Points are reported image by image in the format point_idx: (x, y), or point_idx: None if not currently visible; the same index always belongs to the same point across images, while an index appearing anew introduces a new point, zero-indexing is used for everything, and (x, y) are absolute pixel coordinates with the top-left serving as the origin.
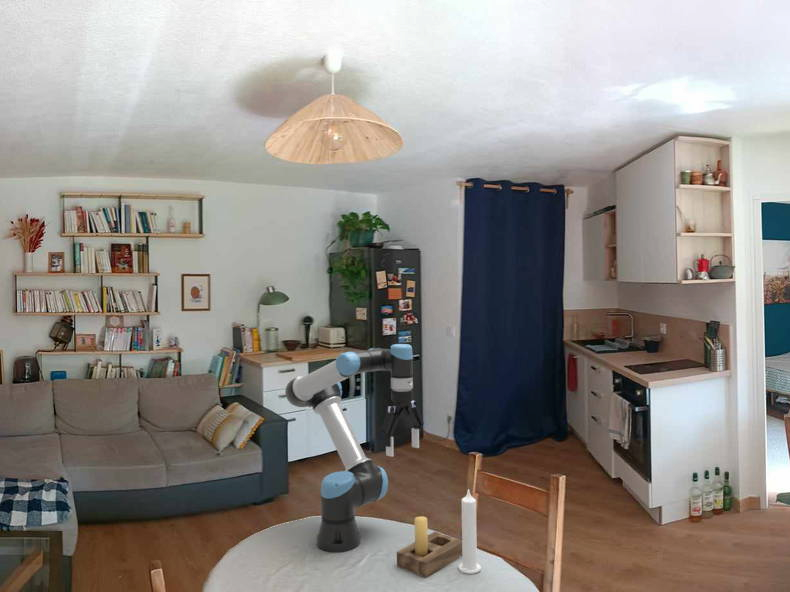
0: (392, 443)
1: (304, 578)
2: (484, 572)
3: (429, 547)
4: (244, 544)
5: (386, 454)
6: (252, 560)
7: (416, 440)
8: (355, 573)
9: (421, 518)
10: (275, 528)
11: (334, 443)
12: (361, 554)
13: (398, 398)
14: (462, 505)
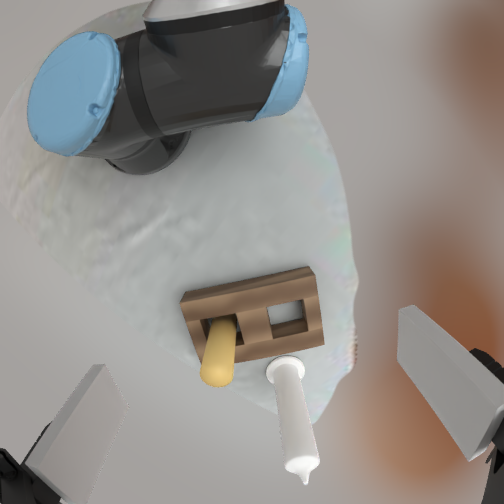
0: (91, 470)
1: (47, 228)
2: None
3: (248, 328)
4: (38, 63)
5: (92, 371)
6: (21, 124)
7: (423, 384)
8: (111, 266)
9: (218, 374)
10: (99, 18)
11: None
12: (153, 206)
13: None
14: (285, 456)
